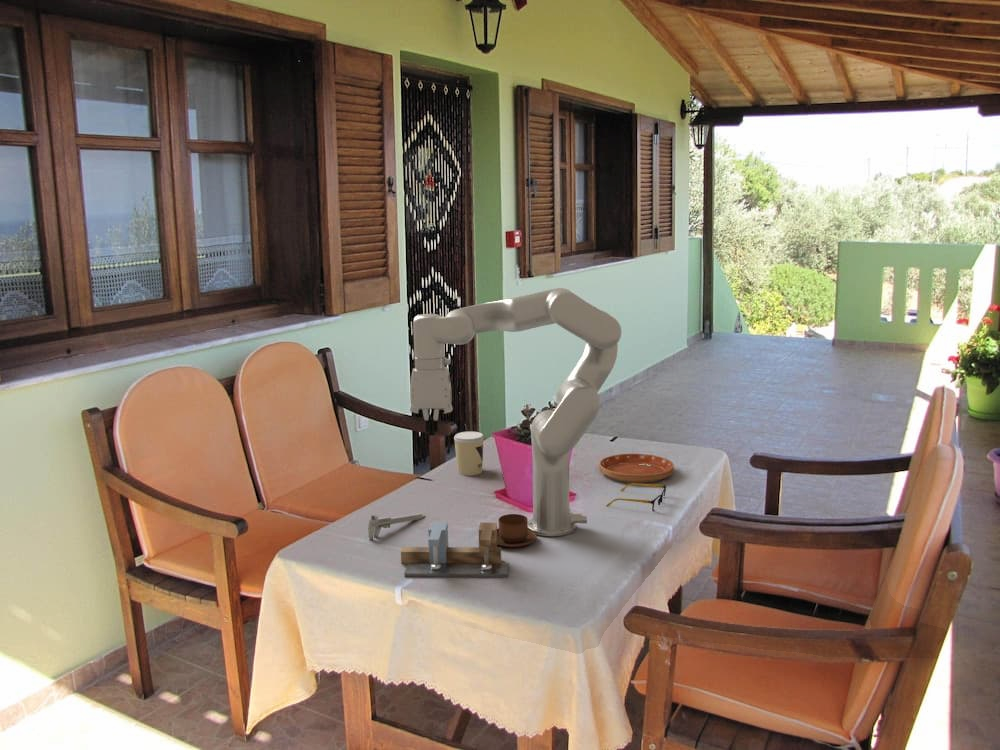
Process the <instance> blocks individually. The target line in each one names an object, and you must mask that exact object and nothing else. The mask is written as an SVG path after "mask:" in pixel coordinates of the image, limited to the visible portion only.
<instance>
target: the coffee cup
mask: <svg viewBox="0 0 1000 750" xmlns="http://www.w3.org/2000/svg"><path fill="white" fill-rule="evenodd" d="M453 439H454V440H453V441H454V449H455V459H456V468H457V473H458V474H459V475H460V476H461V475H462V476H469V477H470V476H477V475H480V474H481V473H482V471H483V457H484V440H485V437H484V435H483V433H481V432H480V431H479V432H478V431H462V432H458V433H456V434H455V435H454V437H453Z"/></svg>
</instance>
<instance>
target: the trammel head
mask: <svg viewBox="0 0 1000 750" xmlns="http://www.w3.org/2000/svg"><path fill="white" fill-rule="evenodd" d="M448 528H449V524H448V522H444V521H443V522H440V521H439V522H438V521H437V522H436V521H435V522H434V521H433V522H430V524H429V528H428V531H427V532H428V539H427V541H428V543H427V545H428V547H429V560H430V563H434V564H437V563H447V562H446V550H447V547H449V529H448Z"/></svg>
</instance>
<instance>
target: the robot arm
mask: <svg viewBox="0 0 1000 750" xmlns="http://www.w3.org/2000/svg"><path fill="white" fill-rule="evenodd" d="M412 322H413V323H412V326H413V353H414V368H412V370H411V371H412V372H411V379H410V399H409V400H410V410H409V411H410V413H414V414H419V416H421V417H422V418H423V419H424V421H425V432H426V433H428V437H431V436H433V437H435V436H436V435H437V433H438V432H439V419H440V418H441V417H442V416H443V415H444V414H448V413H452V411H453V405H452V402H453V397H452V393H453V392H452V384H451V383H452V382H451V376H450V375H451V374H450V371H449V368H448V367H446V366H449V365H451V359H450V358H447V357H446V355H445V344H446V345H447V344H448V345H456V346H457V345H459V346H460V345H466V344H468V343H469V342H470V341H472V340H473V339H474V337H475V335H477V334H481V333H487V332H496V331H502V332H510V333H516V332H517V333H518V332H523V331H527V330H532V329H536V328H539V327H544V326H550V325H554V324H557V325H558V327H561V328H563V329H564V330H565V331H567V332H569V334H572V335H574V336H576V337H578V338H579V339H581V340H582V341H585V343H584V350H583V352H582V354H581V356H580V358H579V359H578V361H577V363H576V364H575V365H574V367H573V369H571V371H570V373H569V374H568V375H567V377H566V378H565V380H564V381H562V383H561V385H560V386H559V388H558V389H557V392H556V393H557V394H556V400H557V403H558V405H557V407H556V408H555V409H554V410H553V409H547V410H545V409H544V410H543V411H540V412H539V413H537V415H535V417H534V418H533V420H532V423H531V426H530V439H531V441H530V442H531V449H532V450H531V453H532V455H531V456H532V517H533V518H532V519H529V521H528V528H530V529H532V530H534V531H535V532H536V533H537V536H542V537H561V536H566V535H569V534H571V533H572V532H575V529H576V524H578V523H579V524H587V523H588V522H587V521H588V517H587V515H583V513H573V512H571V511H572V510H571V507H570V452H571V451H572V450H573V449H574V448H575V447H576V446H577V444H578V443H579V441H580V440H581V438H582V437H583V436H584V435H585V433H586V431H587V430H588V429H589V427H590V426H591V424H592V423H593V422H594V420H595V419H596V417H597V415H598V413H599V410H600V406H601V400H600V396H599V394H598V393H599V391H600V389H601V388H602V386H603V385H604V384H605V383H606V382H605V381H606V380H607V379H608V377H609V376H610V374H611V372H612V370H613V369H614V366H615V364H616V361H617V357H618V343H619V341H620V340H621V338H622V327H621V324H620V322H619V321H618V320H617V319H616V318H615V317H614V316H613V315H610V314H609V313H608V312H607V311H604V310H602V309H599V308H597V307H596V306H594V305H593V304H591V303H590V302H588V301H586V300H584V299H583V298H581V297H580V296H578V295H577V294H575V293H574V292H572V291H571V290H569V289H567V288H563V287H558V288H553V289H548V290H544V291H543V290H542V291H538V292H535V293H530V294H526V295H520V296H517V297H512V298H506V299H501V300H500V299H499V300H496V301H490V302H485V303H484V302H483V303H482V302H481V303H479V304H478V303H477V304H474V305H469V306H465V307H460V308H456V309H453V310H451V311H450V312H449V313H447V314H446V316H441V315H440V314H436V313H423V314H417V315H416V316H414V318H413V321H412ZM431 409H433V416H431V413H430V410H431Z"/></svg>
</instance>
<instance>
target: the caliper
mask: <svg viewBox="0 0 1000 750" xmlns="http://www.w3.org/2000/svg"><path fill="white" fill-rule="evenodd" d="M370 517H371V519H369V521H368V531H367V532H368V539H370V540H373V539H374V538H375V537H376V538H375V539H377V537H378V538H379V535H380V531H381V529H382V528H384V529H387V528H390V527H391V525H395V524H402V523H407V522H413V521H418V520H421V519H423V518H426V515H424V513H419V512H418V513H413V514H407V515H406V514H405V515H400V516H395V517H390V516H383V517H379V515H377V514H374V515H372V514H371V516H370Z"/></svg>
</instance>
